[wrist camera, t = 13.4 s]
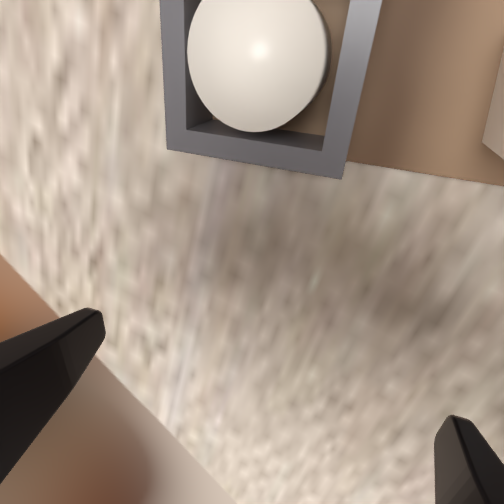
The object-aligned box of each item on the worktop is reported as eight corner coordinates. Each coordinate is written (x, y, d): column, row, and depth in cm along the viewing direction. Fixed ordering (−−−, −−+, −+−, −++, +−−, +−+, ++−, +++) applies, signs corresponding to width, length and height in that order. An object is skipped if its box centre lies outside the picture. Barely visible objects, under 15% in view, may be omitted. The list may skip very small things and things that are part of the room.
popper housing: (395, -58, 12) (401, -86, 10) (345, 160, 17) (341, 179, 14) (193, -63, 14) (155, -89, 12) (194, 136, 18) (166, 149, 16)
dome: (344, -10, 13) (336, -28, 10) (319, 125, 16) (308, 141, 13) (222, -17, 14) (186, -35, 11) (219, 111, 17) (188, 122, 14)
